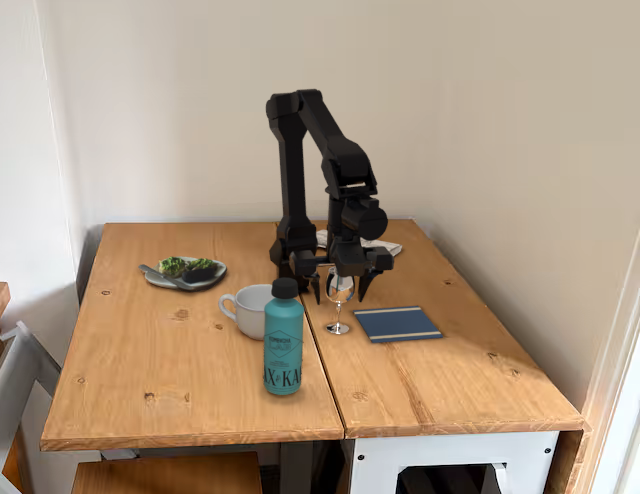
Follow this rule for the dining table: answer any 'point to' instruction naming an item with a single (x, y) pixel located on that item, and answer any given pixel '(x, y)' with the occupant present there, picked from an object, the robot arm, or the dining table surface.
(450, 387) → the dining table surface
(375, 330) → the napkin
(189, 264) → the salad plate
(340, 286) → the wineglass
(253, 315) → the teacup
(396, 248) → the newspaper
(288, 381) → the beverage bottle
